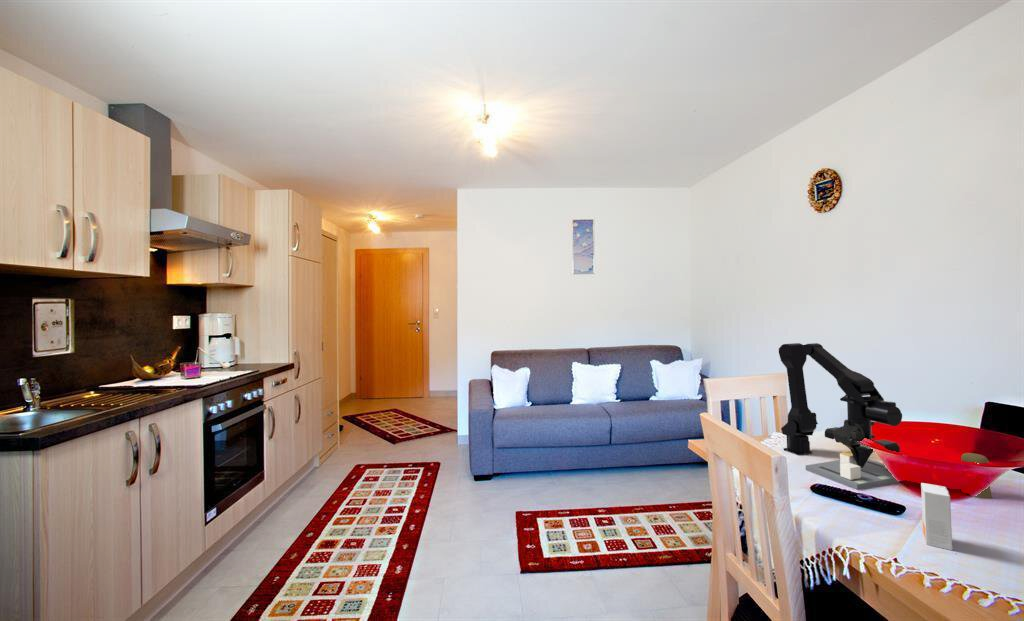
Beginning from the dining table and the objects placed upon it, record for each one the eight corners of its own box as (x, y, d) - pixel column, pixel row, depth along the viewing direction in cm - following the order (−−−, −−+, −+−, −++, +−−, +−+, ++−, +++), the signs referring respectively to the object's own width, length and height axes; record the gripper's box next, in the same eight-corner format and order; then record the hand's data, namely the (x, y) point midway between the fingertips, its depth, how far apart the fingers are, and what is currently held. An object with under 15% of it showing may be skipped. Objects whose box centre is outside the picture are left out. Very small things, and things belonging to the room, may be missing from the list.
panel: (805, 469, 137) (805, 465, 137) (860, 460, 143) (860, 456, 143) (857, 489, 121) (856, 484, 121) (916, 478, 127) (916, 473, 127)
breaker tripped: (840, 464, 136) (839, 453, 136) (849, 462, 137) (849, 451, 137) (849, 467, 133) (849, 456, 133) (859, 466, 134) (858, 454, 134)
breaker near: (840, 476, 127) (840, 464, 127) (850, 474, 128) (850, 462, 128) (850, 479, 124) (850, 468, 124) (860, 478, 125) (860, 466, 125)
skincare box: (922, 533, 98) (920, 482, 98) (948, 539, 95) (946, 486, 95) (925, 544, 93) (923, 491, 93) (953, 551, 91) (951, 496, 91)
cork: (995, 500, 112) (994, 459, 112) (962, 495, 116) (961, 455, 116) (988, 492, 117) (987, 453, 117) (957, 487, 121) (956, 449, 121)
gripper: (811, 413, 139) (812, 460, 139) (872, 428, 120) (873, 482, 121) (836, 410, 141) (838, 456, 141) (900, 424, 123) (902, 477, 123)
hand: (860, 467), depth 132 cm, fingers closed
